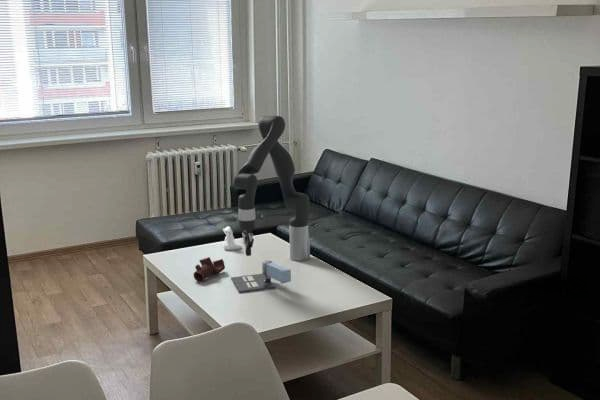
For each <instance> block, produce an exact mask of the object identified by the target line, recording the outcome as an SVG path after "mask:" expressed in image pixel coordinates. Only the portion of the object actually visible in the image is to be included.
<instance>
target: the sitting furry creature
mask: <svg viewBox="0 0 600 400" xmlns="http://www.w3.org/2000/svg"><path fill="white" fill-rule="evenodd" d="M222 231H223V233H224V234H225V235H226V236H224V237H225V238H224V241H223V245H222V247H223V249H224V250H226V251H233V250H242V249H243V245H242V244H240V243H237V244H236V242H235V237H234V235H233V234H234V233H233V229H232V228H231V227H230V226H226V227H224V228H222Z"/></svg>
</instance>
